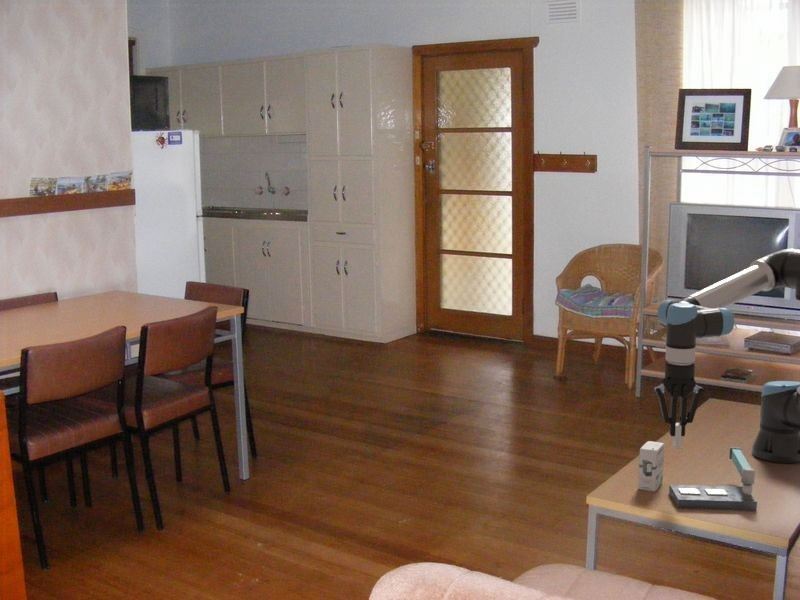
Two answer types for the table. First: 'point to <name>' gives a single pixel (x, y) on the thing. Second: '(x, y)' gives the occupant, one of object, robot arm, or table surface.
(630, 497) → the table surface
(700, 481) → the table surface
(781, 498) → the table surface
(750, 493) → the plate
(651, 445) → the ink box
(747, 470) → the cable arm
